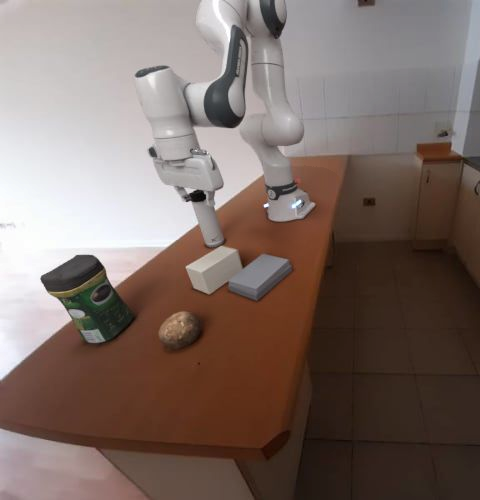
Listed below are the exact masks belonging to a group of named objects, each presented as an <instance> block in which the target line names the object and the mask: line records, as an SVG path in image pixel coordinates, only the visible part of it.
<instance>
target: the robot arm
mask: <svg viewBox="0 0 480 500" xmlns="http://www.w3.org/2000/svg"><path fill="white" fill-rule="evenodd" d="M287 17H288V11H287V3H286V1H285V0H200V2H199V5H198V8H197V11H196V15H195V29H196V32H197V34H198V36H199V39H200V40H201V41H202V43H203V44H204V45H205V46H206V47H207V48H208V50H210V51H211V52H212V53H213V54H215V55H217V56H218V57H221V58H222V63H221V70H220V75H218V77H216V78H214V79H212V80H209V81H201V82H191V81H189V80H187V79H185V78H183V77H181V76H179V75H178V74H177V73H175V72H174V70H173V68H172V66H169V65H155V66H151V67H145V68H142V69H139V70H137V72H136V73H135V74H134V78H133V79H134V81H133V82H134V87H135V91H136V94H137V98H138V102H139V104H140V106H141V109H142V112H143V114H144V117H145V119H146V120H147V121H148V123H149V125H150V127H151V131H152V138H153V140H154V143H153V144H152V145H150V146H149V147H147V148H146V151H147V154H148V157H149V158H151V159H152V163H153V167H154V170H155V171H156V173H157V175H158V178H159V180H160V181H161V182H162V183H163V184H164V185H166V186H172V187H173V189H174V190H175V191H176V193H177V194H178V195H179V196H180V198H181V201H182V202H183V203H190V202H191V197H190V194H189V193H188V192H187V189H192V190H203V191H204V194H206V200H204V201H205V203H206V206H209V207H212V206H214V207H215V206H216V201H215V196H216V195H215V194H216V191H219V190H222V189H223V188H224V185H225V182H224V179H223V176H222V174H221V171H220V168H219V166H218V164H217V161H216V160H215V158H213V156H212V155H211V154H210V153H209V152H208V151H207V150H206V149H201V145H200V142H199V140H198V136H197V133H196V130H195V129H194V128H204V129H205V128H221V129H222V128H223V129H235V128H238V132H239V135H240V137H241V139H242V140H243V141H244V143H246V144H247V145H248V146H249V147H250V148H251V149H252V150H253V151H254V153H255V155H256V156H257V159H258V160H259V161H260V166H261V168H262V172H263V176H264V181H265V183H264V189H265V193H266V200H267V203H266V204H263V207H264V208H267V210H266V213H267V218H268V219H269V220H270V221H272V222H281V223H283V222H289V221H290V222H291V221H294V220H302V219H304V218H305V217H306V216H307V215H308V214H309V213H310V212H311V211H312V210H313V209H315V207H316V203H315V202H313V201H310V197H309V194H308V193H307V191H306V190H302V189H300V188H299V186H298V185H300V184H301V179H300V178H295V179H294V174H293V173H294V172H293V167H292V162H291V160H290V158H288V156H286V155H285V154H283V153H282V152H281V150H280V149H279V147H290V146H294V145H298V144H299V143H302V140H303V138H304V135H305V126H304V122H303V120H302V119H301V117H300V116H299V115H298V114H297V113H296V112H295V111H294V109H293V108H292V107H291V105H290V103H289V99H288V97H287V92H286V91H287V90H286V80H285V79H286V77H285V63H284V62H285V61H284V53H283V47H282V42H281V36H282V33H283V30H284V29H285V26H286V23H287ZM247 37H248V38H249V39H250V51H249V42H248V39H247ZM249 52H250V73H251V74H250V75H251V87H252V93H253V94H254V96H255V97H256V98H257V99H258V100H260V101H262V103H263V104H264V107H265V110H266V111H265V112H264V113H262V112H261V113H252V114H248V115H246V110H247V106H246V86H247V75H248V67H249V65H248V64H249Z"/></svg>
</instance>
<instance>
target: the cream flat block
mask: <svg viewBox="0 0 480 500" xmlns="http://www.w3.org/2000/svg"><path fill="white" fill-rule="evenodd" d="M238 257H240V253H239V250H238V249H237V248H234V247H233V248H232V247H229V246H226V245H220V246H218V247H216V248H215V249H213V250H212V251H210V252H208V253H206V254H205V255H202V257H199V258H198V259H196V260H195V261H193V262H191V263H189V264H187V265H186V266H185V270H186V272H187V275H188V274H189V275H192V276H195V277H197V278H200V279H203V280H205V279H206V278H208V277H209V276H211V275H212V274H214V273H216V272H217V271H219V270H220V269H222V268H223V267H225V266H226V265H228V264H229V263H231V262H232V261H234V260H235V259H237V258H238ZM189 275H188V276H189Z"/></svg>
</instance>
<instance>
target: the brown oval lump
mask: <svg viewBox="0 0 480 500" xmlns="http://www.w3.org/2000/svg"><path fill="white" fill-rule="evenodd" d="M201 330H202V324H201V321H200V319H199V317H198V316H197V315H196V314H195V313H193V312H191V311H185V310H183V311H178V312H175V313H172V315H171V316H170V315H169V317H168V318H166V319H165V321H163V323H162V324H161V325H160V327H159V330H158V332H157V333H158V340H159V342H160V343H161V344H162V345H163V346H164V347H166V348H169V349H172V350H175V349H182V348H185V347H187V346H189V345H191V344H193V343H194V342H195V341H196V340H197V339H198V338H199V336H200V335H201Z"/></svg>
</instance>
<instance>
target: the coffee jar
mask: <svg viewBox="0 0 480 500" xmlns="http://www.w3.org/2000/svg"><path fill="white" fill-rule="evenodd" d="M107 274H108V273H107V270H106V267H105V266H104V264H103V263H102V262H101V261H100V259H99V258H98V257H97V256H96V255H94V254H75V255H74V257H72V258H70V259H68V260H67V261H65V262H63V263H62V264H60V265H58V266H57V267H55V268H53V269H52V270H50V271H48V272H46V273H43V274H42V275H40V283H41V284H42V285H43V287H44V289H45V291H46V292H47V293H48V294H49V295H50V296H51V297H54V298H55V299H57V300H58V301H59V302H60V303H61V304H62V306H63V307H64V309H65V310H66V312H67V313H68V316H69V317H70V318H71V320H72V323H73V324H74V326H75V328H76V329H77V331H78V334H79V335H80V336H81V338H82V340H83V341H85V342H86V343H88V344H102V343H106V342H109V341H112V340H113V339H115V338H116V337H117V336H118V335H120V334H121V333H123V331H124V330H125V329H126V328H127V327H128V326H129V325H130V323H131V322H132V321H133V319H134V312H133V311H132V310H131V308H130V306H128V305H127V304H126V302H125V301H124V299H122V297H121V296H120V295H119V293H118V291H116V289H115V288H114V286H113V285H112V284H111V282H110V280H109V278H108V275H107Z"/></svg>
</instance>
